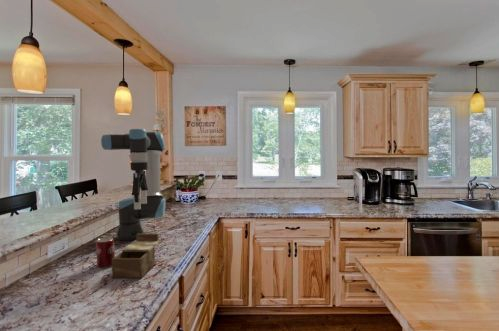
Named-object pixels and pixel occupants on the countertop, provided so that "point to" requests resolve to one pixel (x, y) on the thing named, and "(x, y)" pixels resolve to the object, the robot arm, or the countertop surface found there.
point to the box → (132, 264)
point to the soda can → (105, 252)
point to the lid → (142, 243)
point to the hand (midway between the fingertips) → (140, 206)
